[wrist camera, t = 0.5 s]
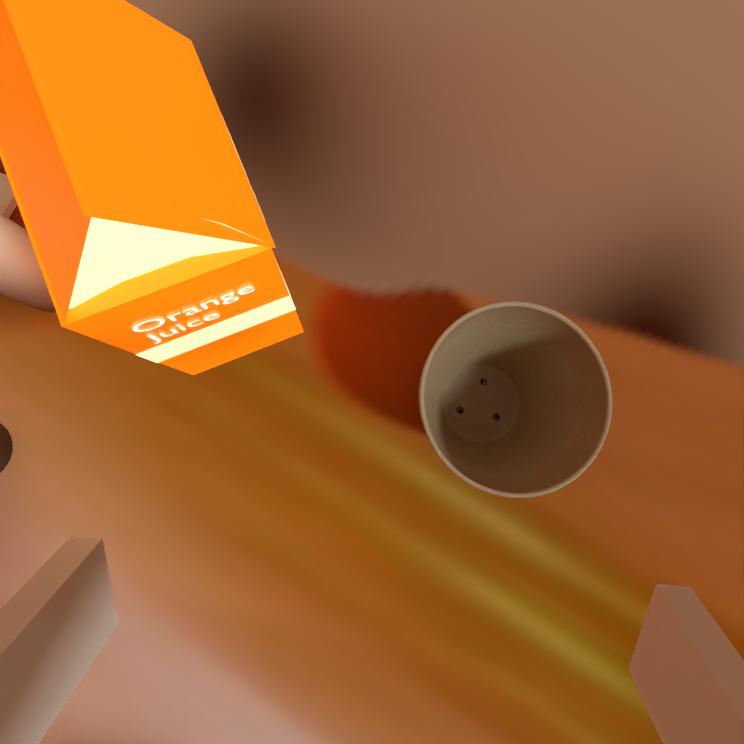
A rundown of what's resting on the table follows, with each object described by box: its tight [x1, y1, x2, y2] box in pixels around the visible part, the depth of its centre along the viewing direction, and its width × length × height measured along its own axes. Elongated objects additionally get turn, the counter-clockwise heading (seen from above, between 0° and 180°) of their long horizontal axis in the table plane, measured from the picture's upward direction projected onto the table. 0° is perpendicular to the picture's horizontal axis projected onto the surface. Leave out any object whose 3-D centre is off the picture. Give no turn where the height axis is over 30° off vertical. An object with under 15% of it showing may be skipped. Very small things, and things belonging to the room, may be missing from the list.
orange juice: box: [0, 0, 304, 375], centre depth 21 cm, size 8×9×20 cm
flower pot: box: [419, 301, 612, 498], centre depth 28 cm, size 10×10×7 cm
